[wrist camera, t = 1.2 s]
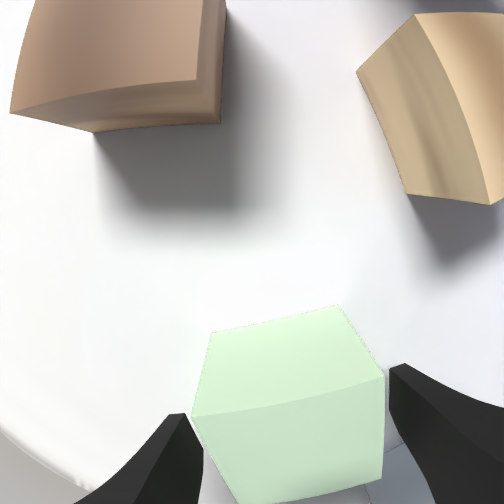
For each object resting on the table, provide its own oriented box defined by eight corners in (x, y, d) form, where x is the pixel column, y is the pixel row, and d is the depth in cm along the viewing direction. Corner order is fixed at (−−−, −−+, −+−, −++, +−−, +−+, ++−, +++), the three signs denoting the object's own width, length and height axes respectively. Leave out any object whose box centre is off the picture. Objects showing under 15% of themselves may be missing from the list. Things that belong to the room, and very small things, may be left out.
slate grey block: (433, 422, 13) (471, 480, 8) (445, 455, 14) (474, 504, 9) (358, 466, 14) (379, 531, 9) (382, 492, 15) (401, 545, 10)
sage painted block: (337, 303, 12) (384, 375, 7) (349, 398, 13) (381, 478, 8) (212, 332, 12) (190, 417, 7) (243, 421, 13) (240, 507, 8)
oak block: (445, 53, 9) (515, 14, 4) (486, 157, 10) (569, 157, 5) (354, 72, 10) (414, 14, 5) (404, 193, 11) (490, 204, 6)
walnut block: (226, 9, 9) (213, -74, 4) (220, 124, 10) (195, 80, 5) (108, 24, 9) (48, -33, 4) (93, 132, 10) (9, 113, 5)
